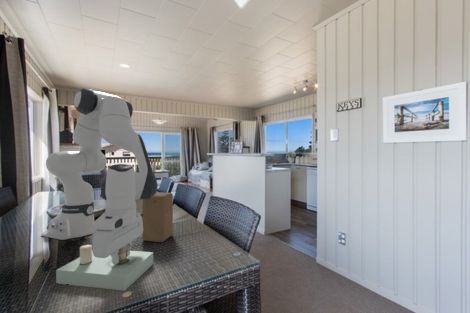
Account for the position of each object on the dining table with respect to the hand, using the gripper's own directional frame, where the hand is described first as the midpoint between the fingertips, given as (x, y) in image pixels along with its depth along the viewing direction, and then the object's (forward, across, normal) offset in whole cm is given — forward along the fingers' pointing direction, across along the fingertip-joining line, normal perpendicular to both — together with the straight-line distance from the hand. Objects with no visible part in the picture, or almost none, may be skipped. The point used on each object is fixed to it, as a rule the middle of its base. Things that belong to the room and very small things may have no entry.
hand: (121, 259), depth 75 cm
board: (+5, 0, -4) cm, 6 cm away
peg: (+4, 0, 0) cm, 4 cm away
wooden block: (+5, -31, -3) cm, 31 cm away
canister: (+5, -64, -37) cm, 74 cm away
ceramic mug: (+5, -17, -18) cm, 25 cm away
